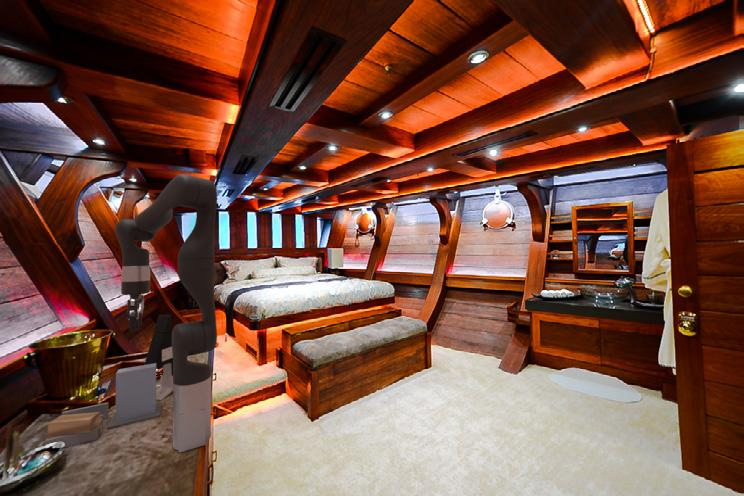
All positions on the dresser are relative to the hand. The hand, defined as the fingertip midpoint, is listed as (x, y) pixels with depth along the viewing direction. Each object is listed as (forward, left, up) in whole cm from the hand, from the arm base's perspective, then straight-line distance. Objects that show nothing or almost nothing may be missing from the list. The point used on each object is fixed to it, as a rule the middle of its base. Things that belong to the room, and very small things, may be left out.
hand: (135, 328), depth 98 cm
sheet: (-1, -1, -28) cm, 28 cm away
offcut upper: (-8, +12, -25) cm, 29 cm away
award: (+14, -8, -29) cm, 33 cm away
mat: (-1, 0, -29) cm, 29 cm away
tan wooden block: (-4, +13, -29) cm, 31 cm away
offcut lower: (-6, +12, -29) cm, 32 cm away
